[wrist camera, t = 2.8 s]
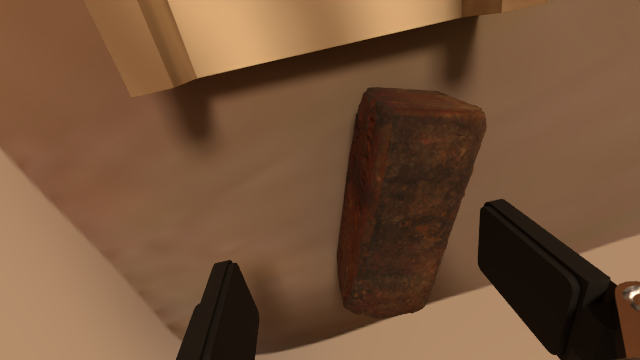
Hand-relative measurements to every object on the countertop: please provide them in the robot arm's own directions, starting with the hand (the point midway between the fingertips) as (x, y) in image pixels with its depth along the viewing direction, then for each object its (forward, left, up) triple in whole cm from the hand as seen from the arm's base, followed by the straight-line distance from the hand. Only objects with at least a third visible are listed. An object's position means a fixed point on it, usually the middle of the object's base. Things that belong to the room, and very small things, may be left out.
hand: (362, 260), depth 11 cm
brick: (-2, 0, -6) cm, 6 cm away
